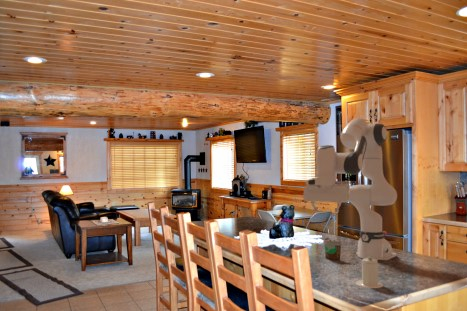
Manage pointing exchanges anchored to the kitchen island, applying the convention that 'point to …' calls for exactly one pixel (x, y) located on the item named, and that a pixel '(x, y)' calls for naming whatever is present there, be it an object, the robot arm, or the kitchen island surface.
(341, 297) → the kitchen island surface
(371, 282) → the lidded octagonal canister
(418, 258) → the kitchen island surface
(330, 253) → the food container
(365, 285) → the saucer
